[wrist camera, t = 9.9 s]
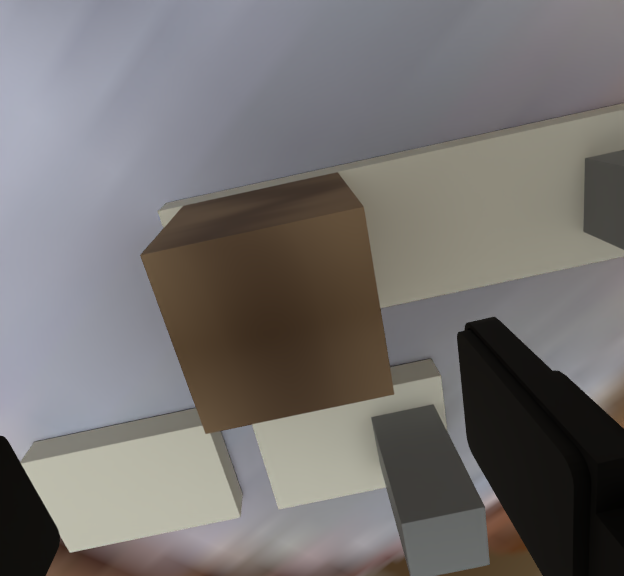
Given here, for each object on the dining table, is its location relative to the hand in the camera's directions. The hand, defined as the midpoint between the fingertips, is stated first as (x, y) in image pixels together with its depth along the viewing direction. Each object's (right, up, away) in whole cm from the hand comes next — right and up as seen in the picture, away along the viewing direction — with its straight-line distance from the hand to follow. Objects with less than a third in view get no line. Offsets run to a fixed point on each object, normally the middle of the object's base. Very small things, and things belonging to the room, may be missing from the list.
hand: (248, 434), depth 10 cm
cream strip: (+6, +6, +11) cm, 13 cm away
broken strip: (-2, -5, +15) cm, 16 cm away
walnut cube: (0, +4, +9) cm, 10 cm away
